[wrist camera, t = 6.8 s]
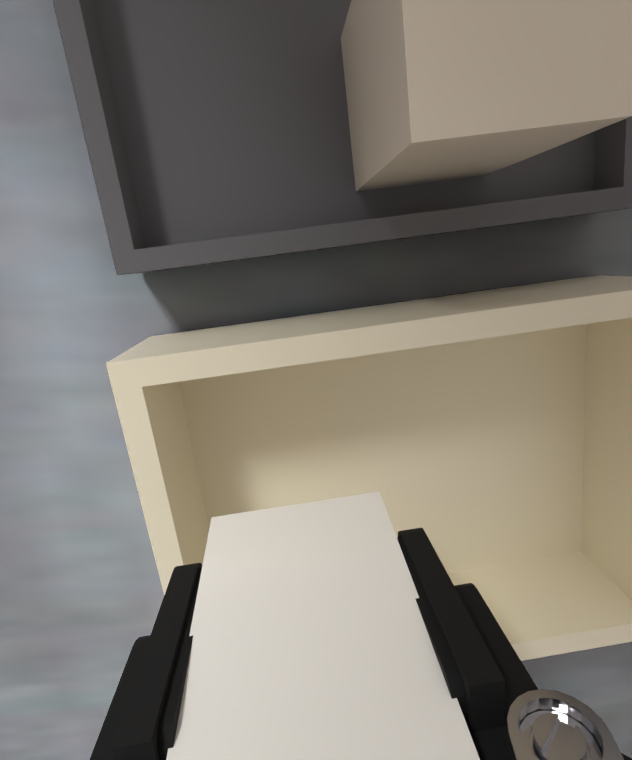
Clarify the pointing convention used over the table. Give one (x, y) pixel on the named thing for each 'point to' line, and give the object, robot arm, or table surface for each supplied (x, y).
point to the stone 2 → (478, 83)
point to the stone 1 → (313, 644)
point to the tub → (414, 439)
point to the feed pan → (272, 139)
